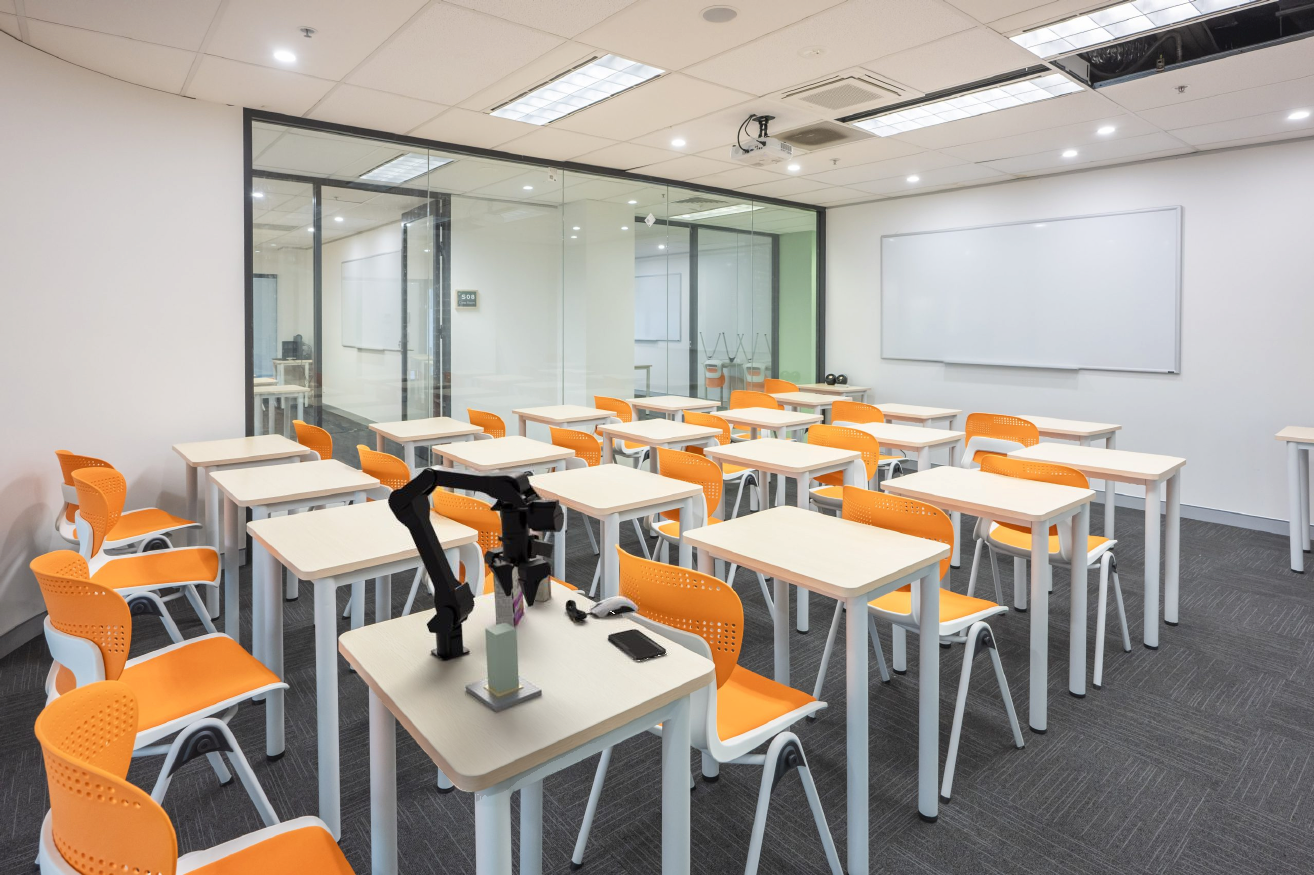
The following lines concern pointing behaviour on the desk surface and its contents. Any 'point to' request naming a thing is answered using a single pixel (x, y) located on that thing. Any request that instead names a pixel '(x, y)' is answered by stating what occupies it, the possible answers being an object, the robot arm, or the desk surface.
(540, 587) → the small box
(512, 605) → the candy bar box
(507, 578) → the robot arm
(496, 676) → the sage block
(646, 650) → the phone
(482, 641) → the desk surface
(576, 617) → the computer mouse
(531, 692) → the pad
